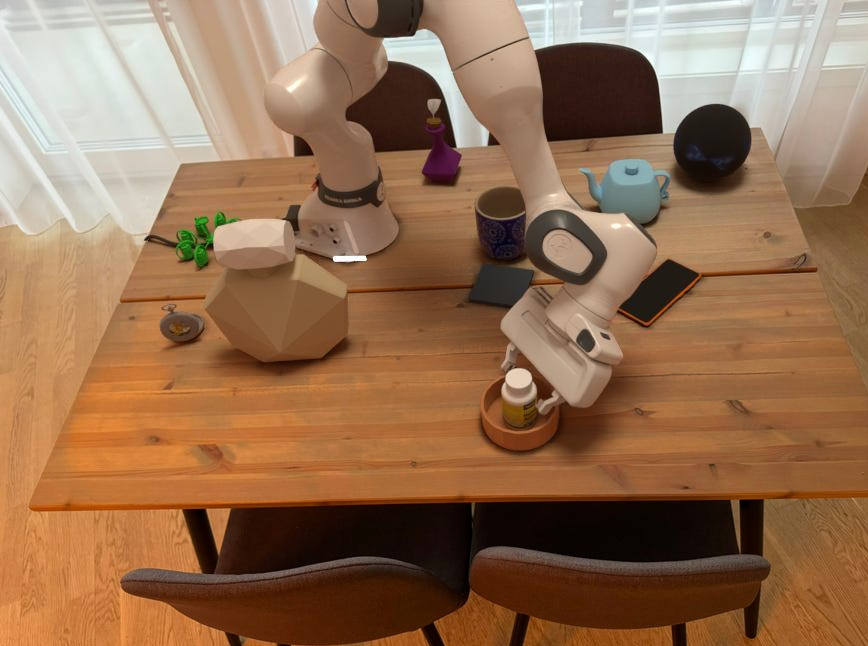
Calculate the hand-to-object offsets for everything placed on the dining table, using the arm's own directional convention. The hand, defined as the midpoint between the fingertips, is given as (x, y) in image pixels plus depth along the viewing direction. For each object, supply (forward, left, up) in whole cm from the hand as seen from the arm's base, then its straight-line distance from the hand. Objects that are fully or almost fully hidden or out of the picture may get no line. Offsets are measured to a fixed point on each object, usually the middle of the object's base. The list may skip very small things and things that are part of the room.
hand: (522, 391), depth 113 cm
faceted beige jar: (-43, +6, -7) cm, 44 cm away
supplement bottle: (0, 0, -7) cm, 7 cm away
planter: (-13, +40, -7) cm, 42 cm away
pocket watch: (-65, +5, -7) cm, 66 cm away
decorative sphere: (+22, +71, -7) cm, 74 cm away
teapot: (+7, +56, -7) cm, 56 cm away
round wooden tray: (0, 0, -7) cm, 7 cm away
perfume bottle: (-33, +61, -7) cm, 70 cm away
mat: (-11, +29, -7) cm, 32 cm away
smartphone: (+17, +33, -7) cm, 37 cm away
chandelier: (-73, +29, -7) cm, 79 cm away
